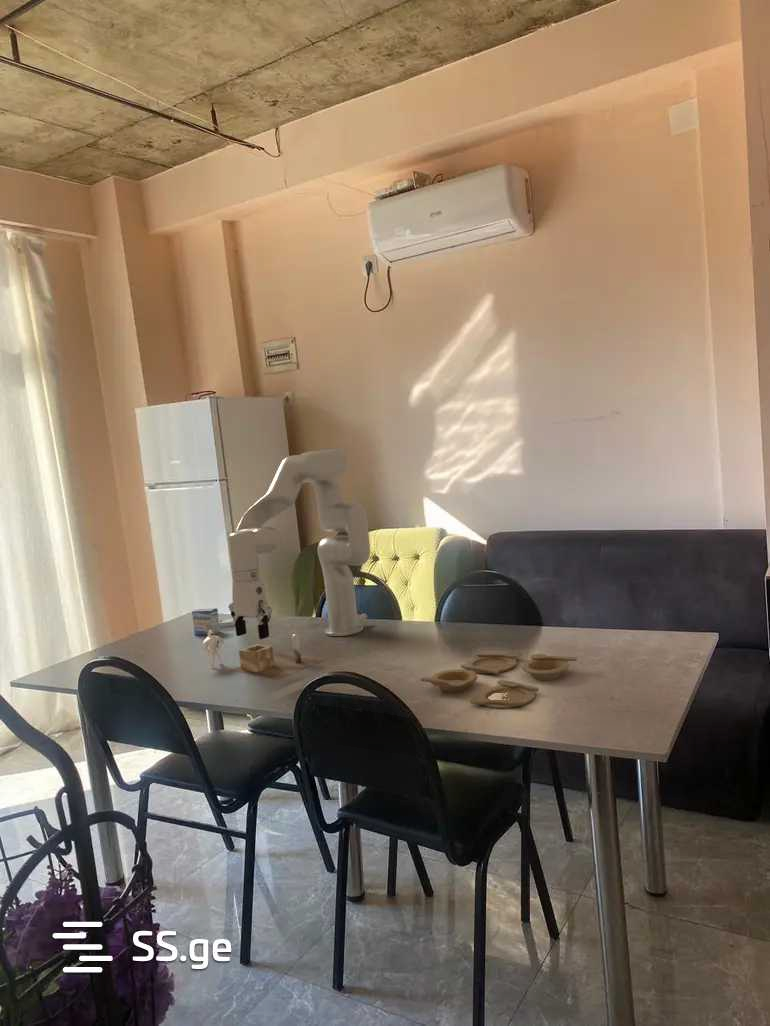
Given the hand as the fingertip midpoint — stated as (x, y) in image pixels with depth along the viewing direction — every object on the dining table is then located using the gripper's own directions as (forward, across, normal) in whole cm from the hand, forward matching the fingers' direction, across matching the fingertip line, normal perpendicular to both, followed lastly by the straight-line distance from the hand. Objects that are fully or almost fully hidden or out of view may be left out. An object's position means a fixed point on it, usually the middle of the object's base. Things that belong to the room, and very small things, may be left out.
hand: (252, 636), depth 210 cm
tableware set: (+11, -66, -21) cm, 70 cm away
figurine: (+11, +14, +3) cm, 18 cm away
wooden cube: (+9, 0, -1) cm, 9 cm away
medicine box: (+10, +54, -24) cm, 60 cm away
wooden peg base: (+10, -4, -5) cm, 12 cm away
